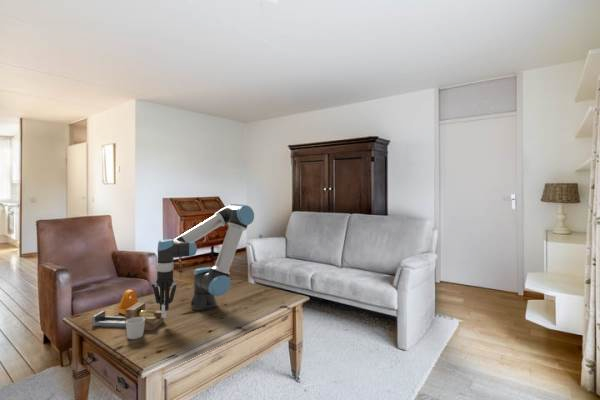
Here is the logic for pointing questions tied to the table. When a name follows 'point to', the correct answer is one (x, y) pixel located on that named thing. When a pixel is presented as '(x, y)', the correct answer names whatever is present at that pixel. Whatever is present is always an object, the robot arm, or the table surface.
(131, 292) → the bracket
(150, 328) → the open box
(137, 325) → the cup
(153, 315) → the axle
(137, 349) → the table surface
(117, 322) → the v block
